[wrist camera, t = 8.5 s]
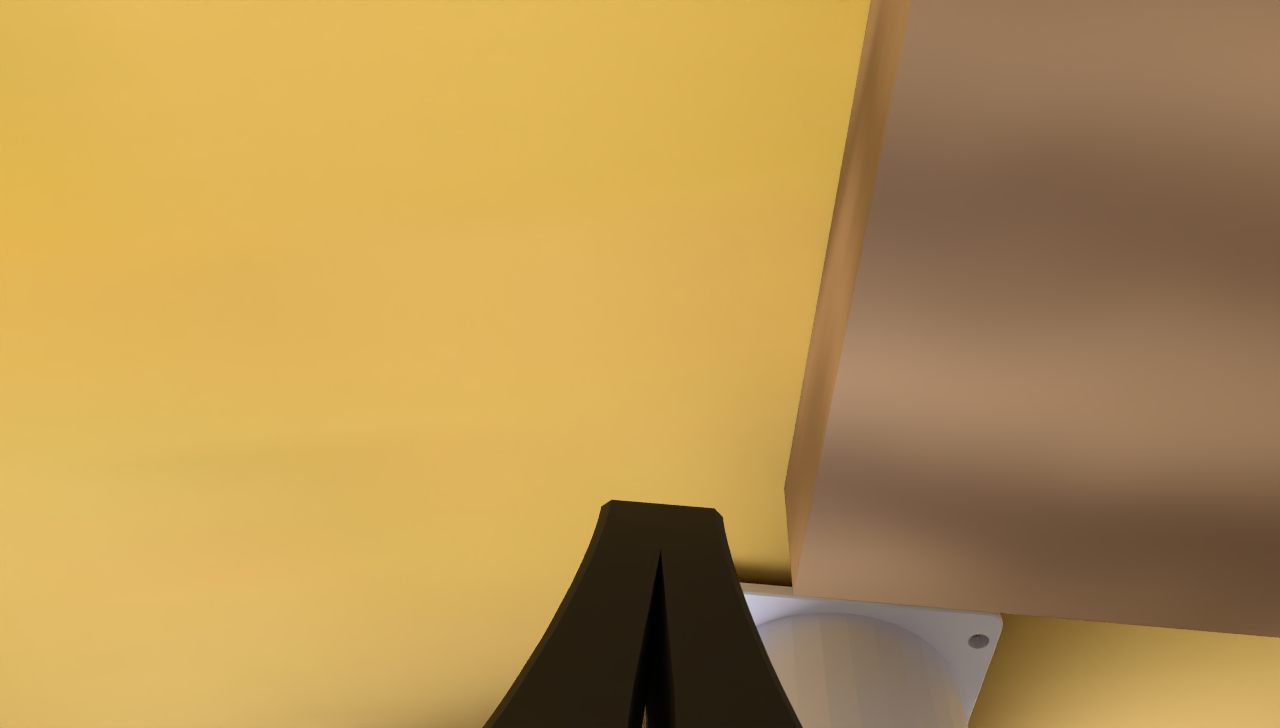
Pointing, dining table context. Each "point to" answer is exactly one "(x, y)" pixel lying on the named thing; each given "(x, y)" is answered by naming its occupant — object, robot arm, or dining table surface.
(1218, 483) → the walnut riser
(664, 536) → the robot arm
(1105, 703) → the dining table surface
